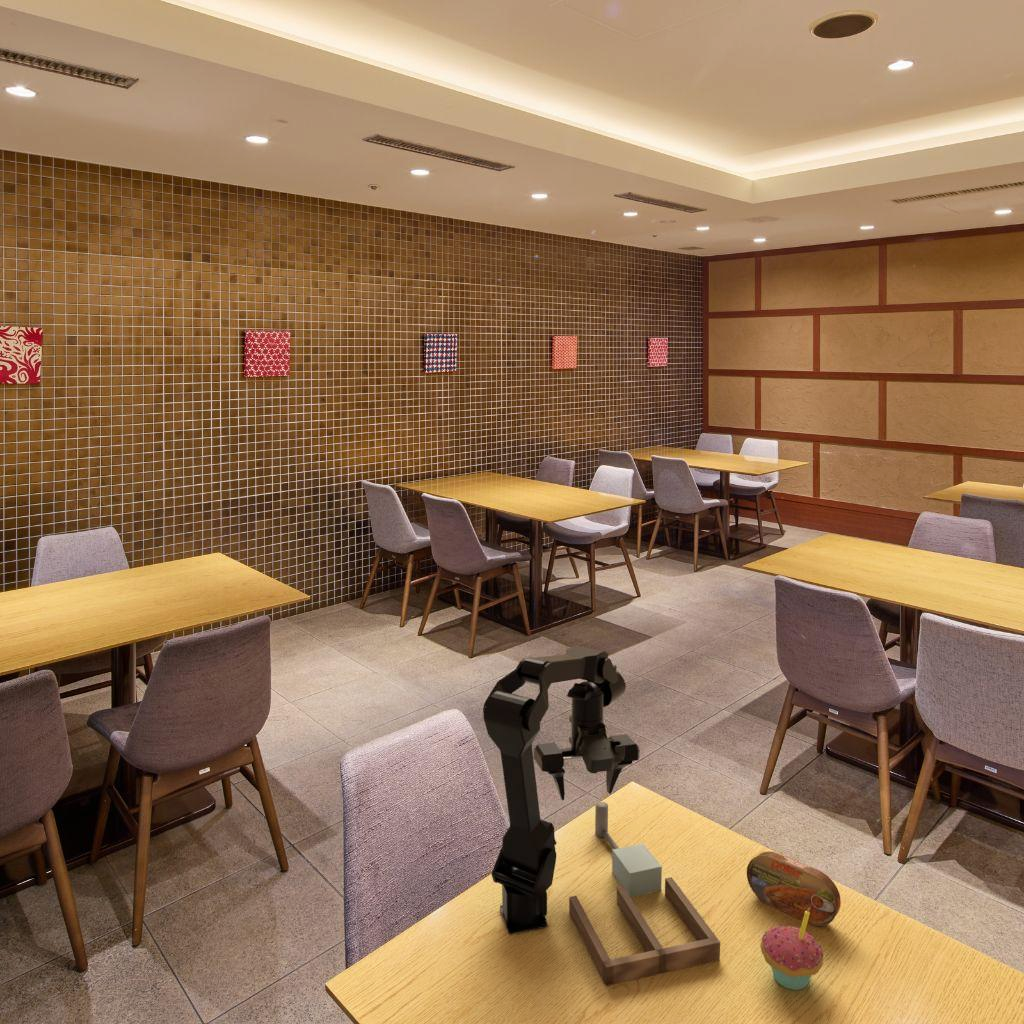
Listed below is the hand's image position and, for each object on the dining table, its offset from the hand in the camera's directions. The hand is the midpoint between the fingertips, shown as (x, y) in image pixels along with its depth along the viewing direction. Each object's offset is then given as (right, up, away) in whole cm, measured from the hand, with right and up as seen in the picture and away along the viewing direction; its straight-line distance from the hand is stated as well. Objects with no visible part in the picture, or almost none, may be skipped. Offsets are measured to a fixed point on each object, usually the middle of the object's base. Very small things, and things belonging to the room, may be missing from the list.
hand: (585, 795), depth 142 cm
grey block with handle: (+6, -11, -1) cm, 13 cm away
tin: (+33, -14, -15) cm, 38 cm away
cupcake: (+27, -16, -29) cm, 43 cm away
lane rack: (+7, -14, -20) cm, 26 cm away
